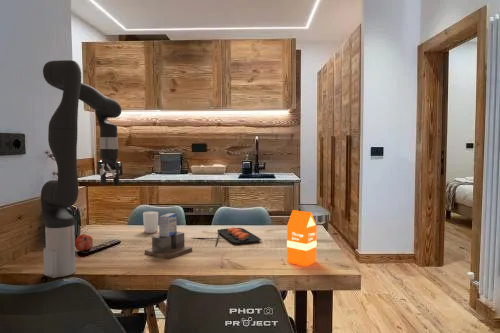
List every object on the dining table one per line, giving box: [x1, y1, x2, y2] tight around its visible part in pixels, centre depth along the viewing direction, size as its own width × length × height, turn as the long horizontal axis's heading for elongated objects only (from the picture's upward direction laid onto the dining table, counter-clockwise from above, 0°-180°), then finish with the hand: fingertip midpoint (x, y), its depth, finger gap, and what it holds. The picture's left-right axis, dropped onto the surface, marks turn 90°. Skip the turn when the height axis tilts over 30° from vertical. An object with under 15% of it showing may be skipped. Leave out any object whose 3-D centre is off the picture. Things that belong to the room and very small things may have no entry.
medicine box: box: [158, 212, 178, 237], centre depth 163 cm, size 8×4×9 cm, turn 166°
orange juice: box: [286, 209, 318, 267], centre depth 150 cm, size 8×9×20 cm
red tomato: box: [75, 233, 94, 252], centre depth 166 cm, size 7×7×10 cm
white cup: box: [142, 210, 159, 234], centre depth 202 cm, size 8×8×10 cm
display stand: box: [144, 231, 193, 260], centre depth 163 cm, size 14×14×8 cm
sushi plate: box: [192, 226, 261, 248], centre depth 187 cm, size 29×30×4 cm
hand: (109, 185), depth 167 cm, fingers open, 8 cm apart
